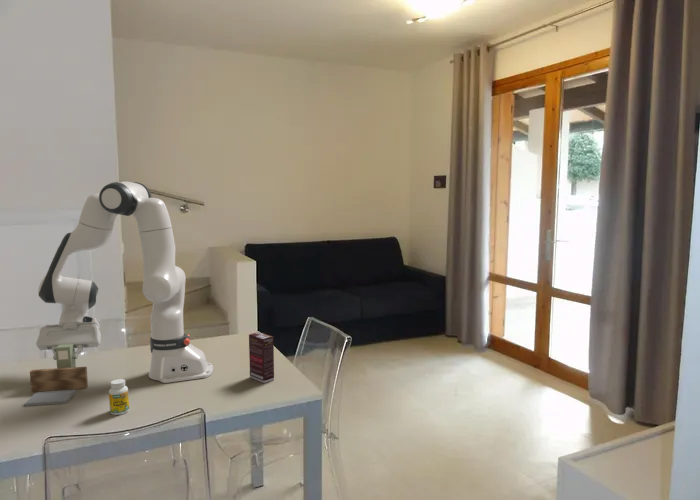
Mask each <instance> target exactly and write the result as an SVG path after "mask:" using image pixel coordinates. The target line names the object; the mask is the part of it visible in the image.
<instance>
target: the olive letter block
mask: <svg viewBox="0 0 700 500" xmlns="http://www.w3.org/2000/svg"><path fill="white" fill-rule="evenodd" d="M74 352H76V348H75V347H74V344H60V345H58V346H57V347H56V360H55V361H56V368H72V367H77V363H76V359H73V358H72V353H74Z"/></svg>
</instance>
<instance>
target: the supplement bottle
mask: <svg viewBox="0 0 700 500" xmlns="http://www.w3.org/2000/svg"><path fill="white" fill-rule="evenodd" d="M108 400H109V412H110V414H112V415H113V416H121V415H124V414H126V413H128V412H129V411H130V398H129V388H128V386H127V385H126V380H125V379H124V378H119V379H117V378H116V379H113V380H112V381H110V389H109V390H108Z"/></svg>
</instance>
